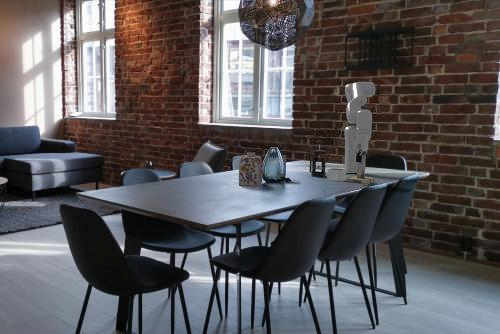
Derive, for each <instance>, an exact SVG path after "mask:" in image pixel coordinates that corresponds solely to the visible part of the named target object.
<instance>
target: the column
mask: <svg viewBox="0 0 500 334" xmlns="http://www.w3.org/2000/svg"><path fill="white" fill-rule="evenodd" d="M361 155H362V162H358V168H357V174H356V176H357V178H359V179H364V178H365V177H366V162H367V161H366V153H362V154H361Z"/></svg>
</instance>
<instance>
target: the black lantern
mask: <svg viewBox="0 0 500 334" xmlns="http://www.w3.org/2000/svg"><path fill="white" fill-rule="evenodd" d="M316 143H318V149H314V150H312V155H316V156H320V155H326V153H327V150H323V149H321V147H320V145H321V143H323V140H316ZM317 162H318V164H317ZM320 162H321V166H320ZM326 162H327V158H323V157H310V158H309V173H310V175H311V177H313V178H327V172H326ZM317 170H320V171H317Z"/></svg>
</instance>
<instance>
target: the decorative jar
mask: <svg viewBox="0 0 500 334" xmlns="http://www.w3.org/2000/svg"><path fill="white" fill-rule="evenodd" d="M263 161H264V160H263V158H262V156H260V155H256V152H246V155H241V156H240V157H239V161H238V186H244V187H245V186H246V187H260V186H261V185H262V184H263V170H264V169H263Z"/></svg>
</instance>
